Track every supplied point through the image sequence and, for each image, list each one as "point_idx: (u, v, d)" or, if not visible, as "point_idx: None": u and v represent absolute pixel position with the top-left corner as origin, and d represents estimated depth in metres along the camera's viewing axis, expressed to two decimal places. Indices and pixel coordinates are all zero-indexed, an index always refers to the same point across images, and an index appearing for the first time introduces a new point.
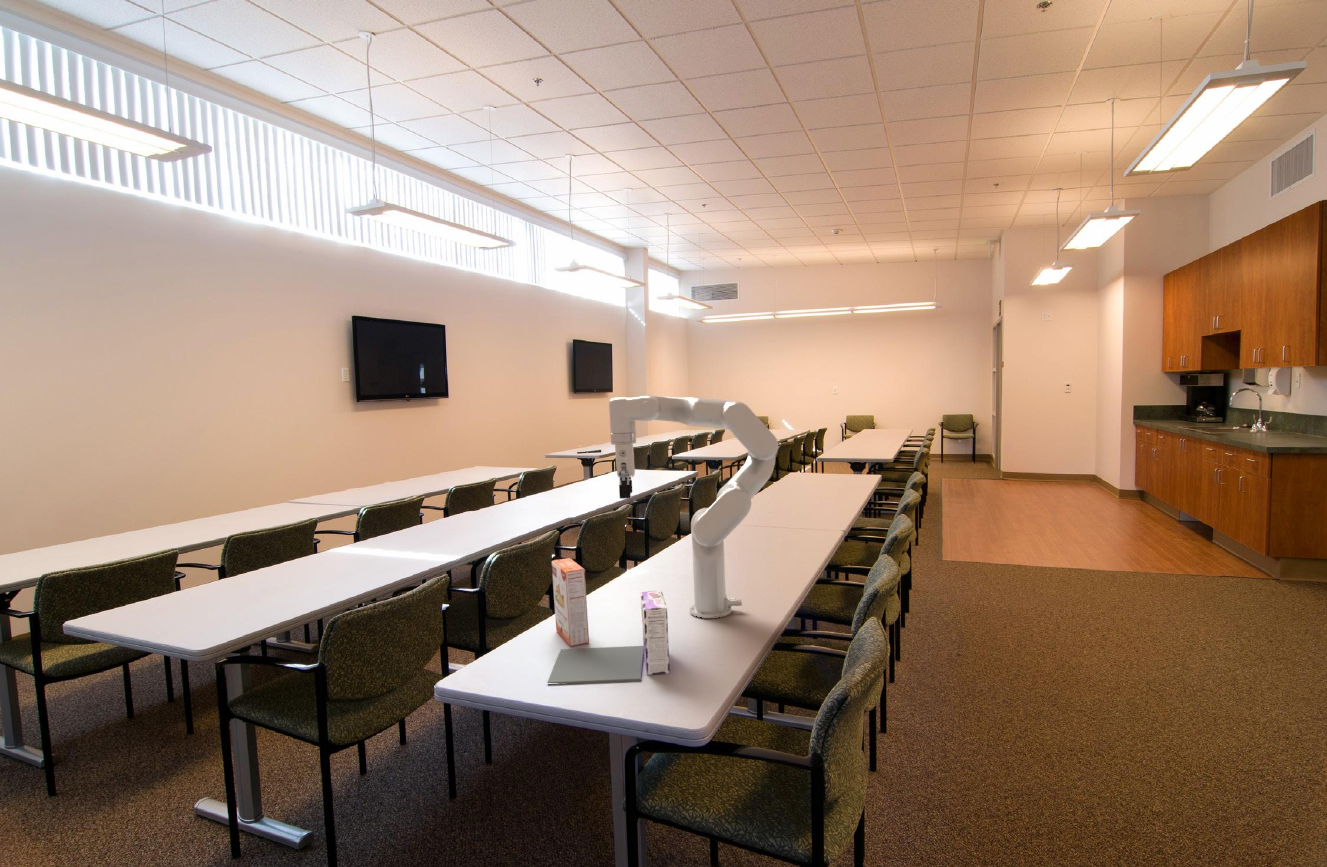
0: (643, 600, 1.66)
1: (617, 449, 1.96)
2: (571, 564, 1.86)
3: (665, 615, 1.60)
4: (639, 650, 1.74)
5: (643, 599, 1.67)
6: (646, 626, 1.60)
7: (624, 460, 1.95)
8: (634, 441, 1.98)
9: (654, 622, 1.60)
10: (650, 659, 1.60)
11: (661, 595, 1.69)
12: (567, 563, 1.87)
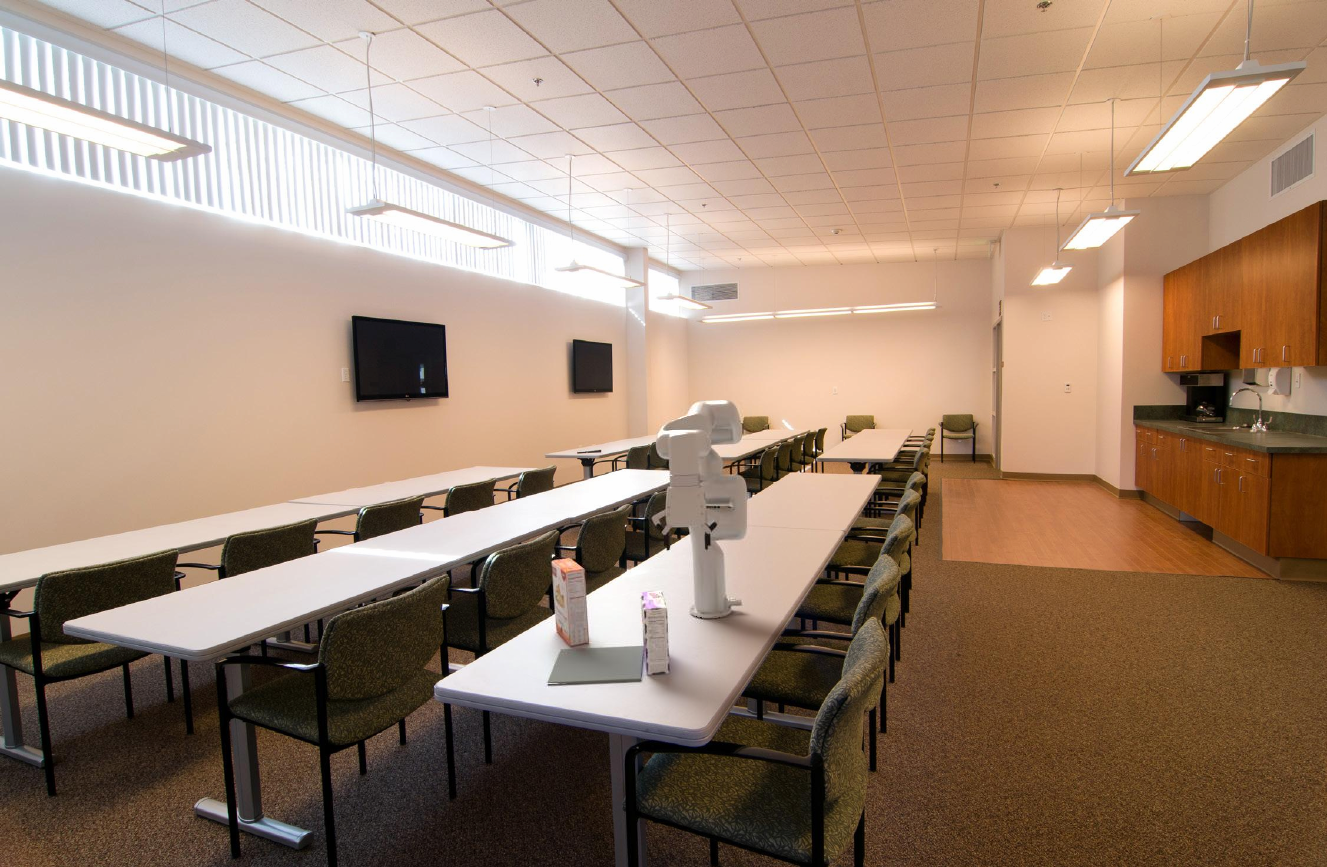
0: (643, 600, 1.66)
1: (702, 492, 1.66)
2: (571, 564, 1.86)
3: (665, 615, 1.60)
4: (639, 650, 1.74)
5: (643, 599, 1.67)
6: (646, 626, 1.60)
7: (705, 504, 1.68)
8: None
9: (654, 622, 1.60)
10: (650, 659, 1.60)
11: (661, 595, 1.69)
12: (567, 563, 1.87)
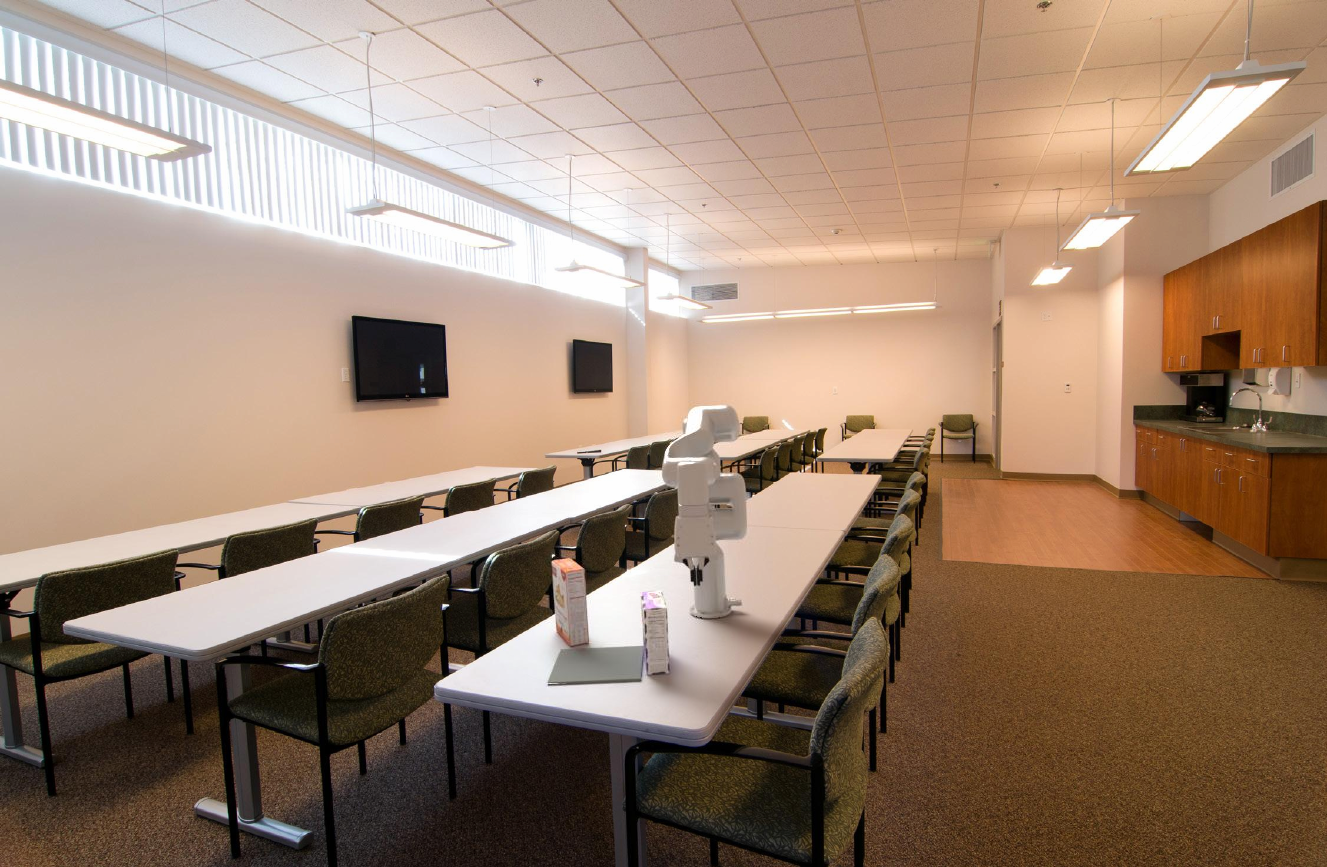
0: (643, 600, 1.66)
1: (712, 522, 1.63)
2: (571, 564, 1.86)
3: (665, 615, 1.60)
4: (639, 650, 1.74)
5: (643, 599, 1.67)
6: (646, 626, 1.60)
7: None
8: None
9: (654, 622, 1.60)
10: (650, 659, 1.60)
11: (661, 595, 1.69)
12: (567, 563, 1.87)
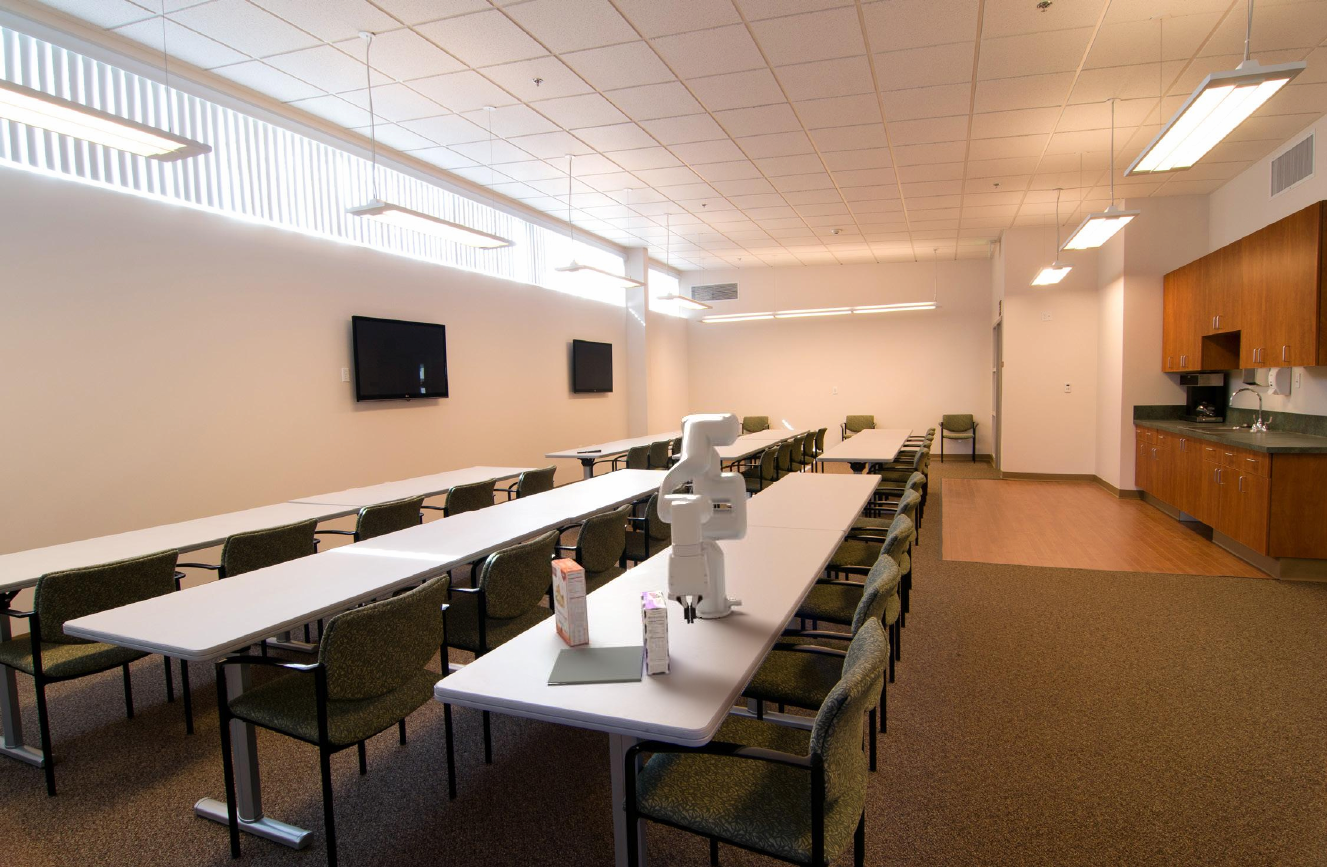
0: (643, 600, 1.66)
1: (705, 561, 1.64)
2: (571, 564, 1.86)
3: (665, 615, 1.60)
4: (639, 650, 1.74)
5: (643, 599, 1.67)
6: (646, 626, 1.60)
7: None
8: None
9: (654, 622, 1.60)
10: (650, 659, 1.60)
11: (661, 595, 1.69)
12: (567, 563, 1.87)
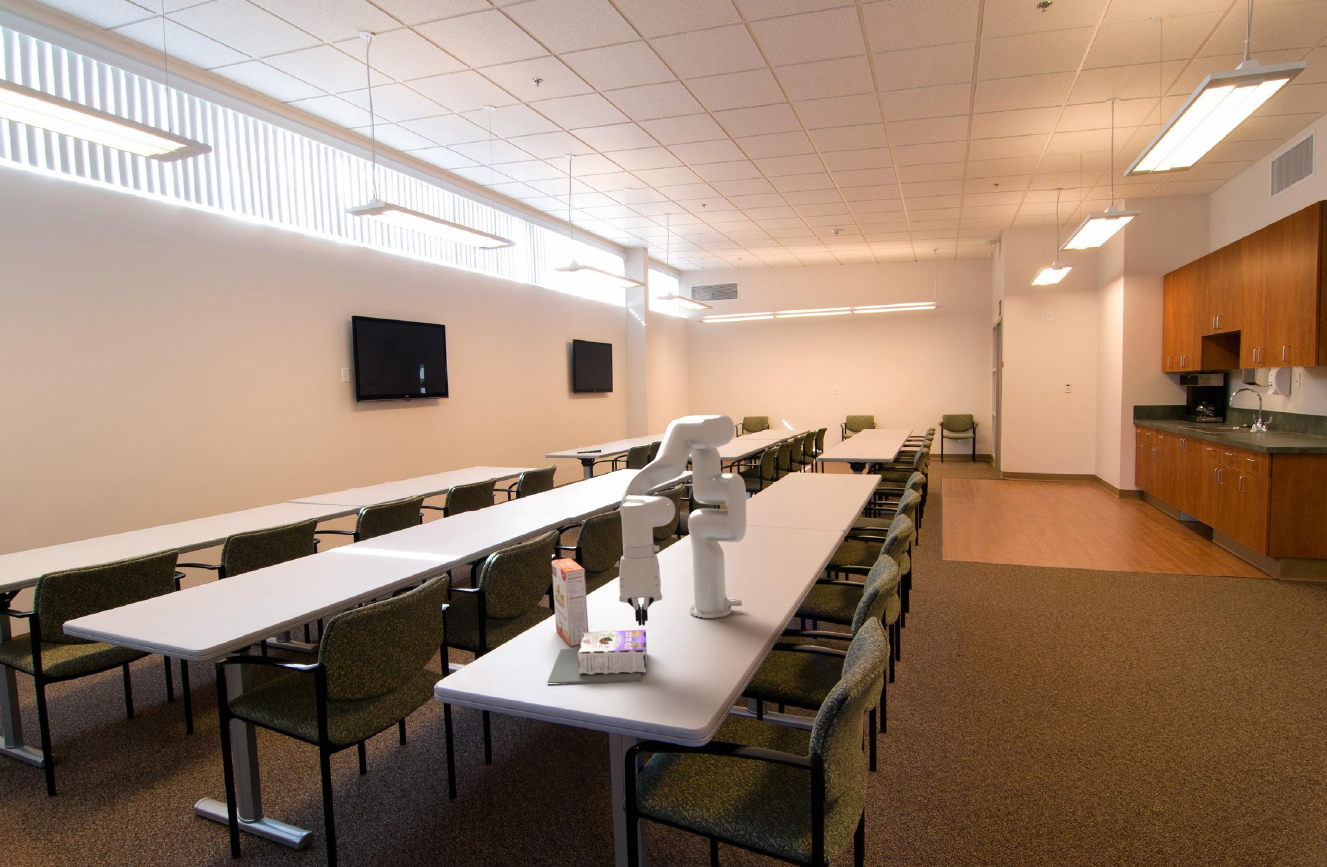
0: None
1: (656, 563, 1.64)
2: (571, 564, 1.86)
3: (585, 654, 1.60)
4: None
5: None
6: (596, 672, 1.60)
7: (659, 573, 1.66)
8: None
9: (592, 665, 1.60)
10: (630, 669, 1.60)
11: (582, 640, 1.69)
12: (567, 563, 1.87)
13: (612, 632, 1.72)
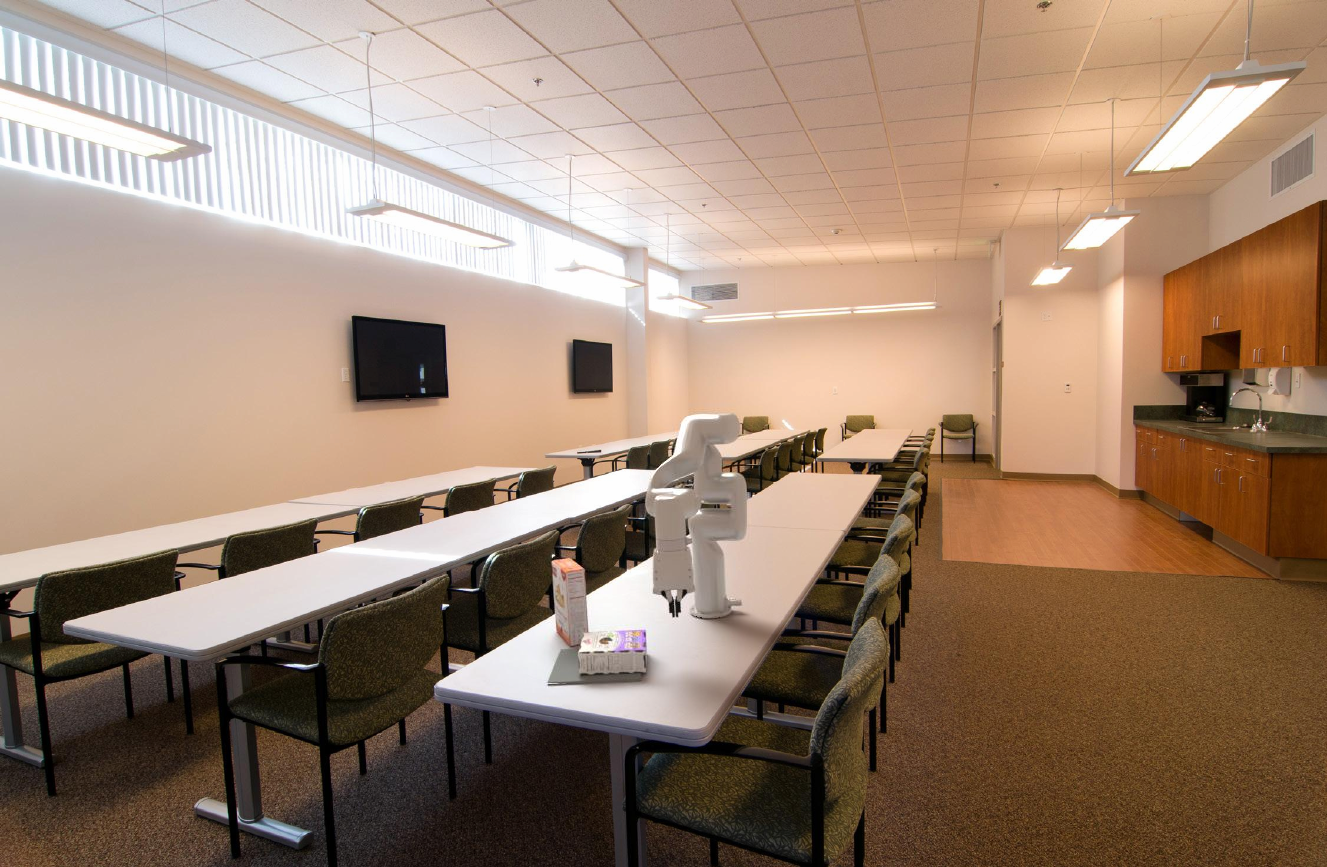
0: None
1: (689, 555, 1.65)
2: (571, 564, 1.86)
3: (585, 654, 1.60)
4: None
5: None
6: (596, 672, 1.60)
7: None
8: None
9: (592, 665, 1.60)
10: (630, 669, 1.60)
11: (582, 640, 1.69)
12: (567, 563, 1.87)
13: (612, 632, 1.72)
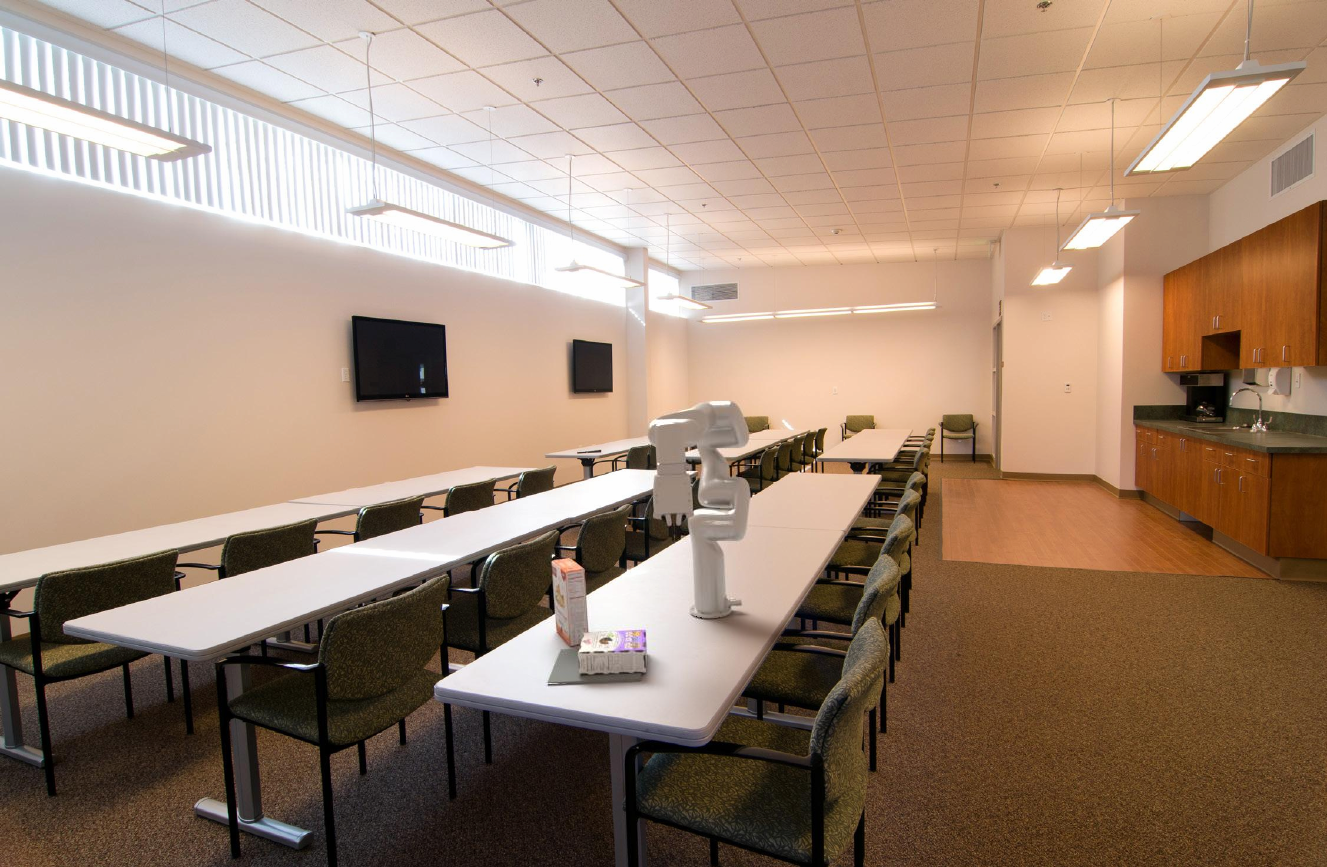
0: None
1: (688, 480, 1.71)
2: (571, 564, 1.86)
3: (585, 654, 1.60)
4: None
5: None
6: (596, 672, 1.60)
7: None
8: None
9: (592, 665, 1.60)
10: (630, 669, 1.60)
11: (582, 640, 1.69)
12: (567, 563, 1.87)
13: (612, 632, 1.72)
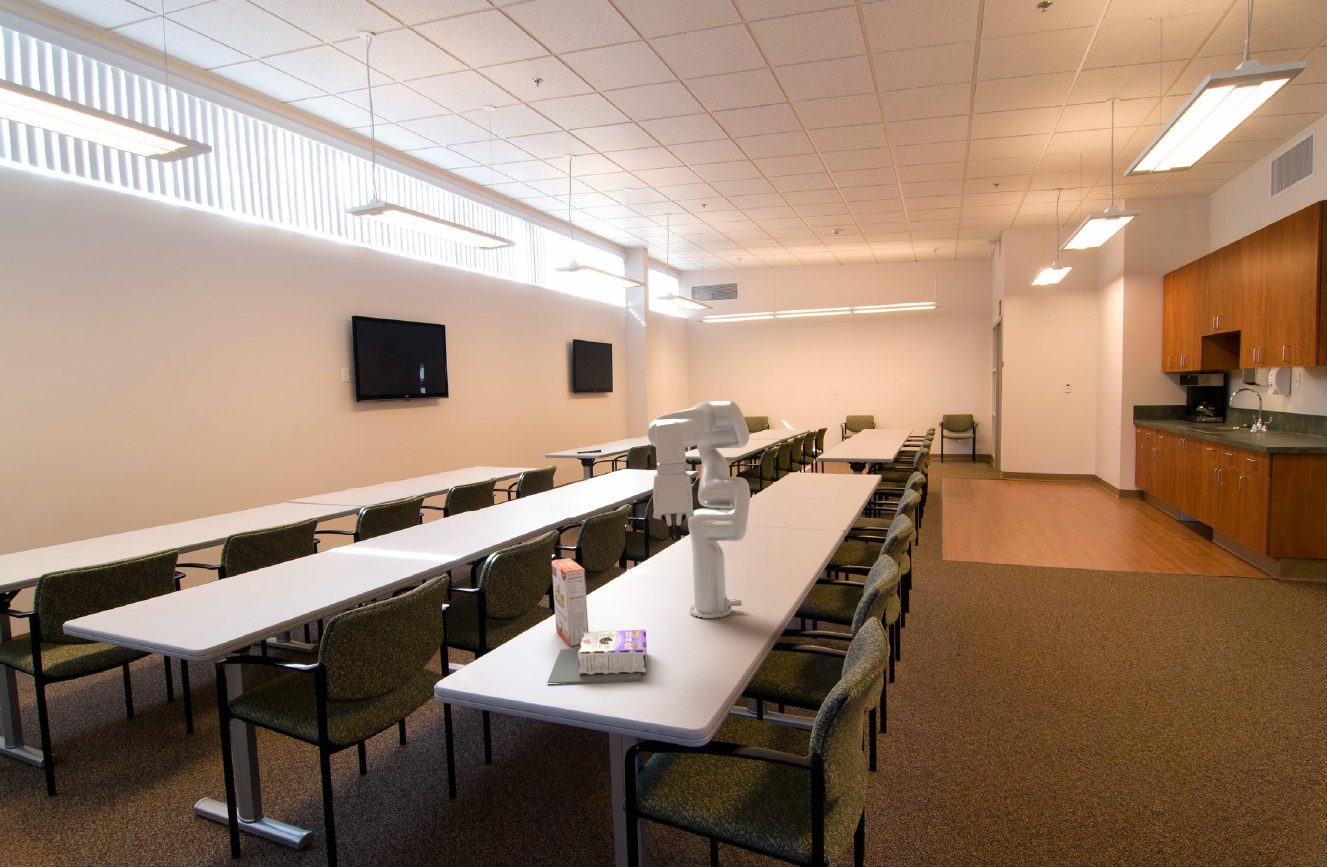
0: None
1: (688, 480, 1.71)
2: (571, 564, 1.86)
3: (585, 654, 1.60)
4: None
5: None
6: (596, 672, 1.60)
7: None
8: None
9: (592, 665, 1.60)
10: (630, 669, 1.60)
11: (582, 640, 1.69)
12: (567, 563, 1.87)
13: (612, 632, 1.72)
